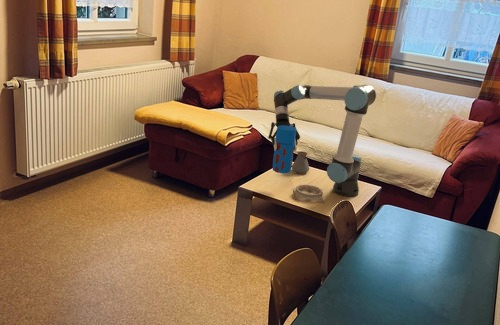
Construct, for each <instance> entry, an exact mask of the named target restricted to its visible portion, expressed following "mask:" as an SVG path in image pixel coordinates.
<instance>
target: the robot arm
mask: <svg viewBox="0 0 500 325" xmlns="http://www.w3.org/2000/svg"><path fill="white" fill-rule="evenodd" d="M376 97H377V93H376V90H375V88H374V87H373V86H371V85H370V84H369V85H368V84H362V85H353V86H352V87H351V86H349V87H348V86H327V85H326V86H324V85H321V86H319V85H318V86H317V85H315V86H314V85H308V84H307V85H306V84H305V85H300V84H297V85H295V86H293V87H292V88H289V89H288V90H286V91H285V90H277V91H275V92H274V93H273V103H274V113H275V122H274V121H272V122H271V124H270V129H269V135H268V136H267V138H268V139H270V140H271V145H273V149H274V150H273V152H274V151H276V149H277V145H276V131H277V129H276V131H275V132H274V129H275V127H278V126H281V125H285V126H292V127H294V128H296V136H295V145H294V152H296V151H297V149H298V148H297V147H298V144H299V143H298V141H300V139H301V135H300V133H299V131H298V129H297V127H296V123H295V122H293V123H291V122H290V117H289V107H288V106H289V105H291V104H293V103H294V102H297V101H301V100H307V99H308V100H326V101H327V100H328V101H344V104H345V107H344V110H345V112H346V114H345V119H344V122H343V126H342V130H341V134H340V139H339V143H338V146H337V150H336V153H335V154H333V156H332V159H331V163H330V164H329V165H328V166H327V168H326V174H327V177H328V178H329V180H330V181H332V182H333V185H332V191H333V193H335V194H338V195H341V196H343V197H344V196H345V197H356V196H358V195H359V192H360V188H359V187H360V186H359V181H358V180H359V175H360V170H361V164H362V157H361V156H360V155H357V154H355V153H354V151H355V148H356V142H357V140H358V135H359V131H360V128H361V124H362V119H363V117H364V116H365V115H367V113H368V109H369V106H371V105H373V103H374V102H375V101H376V99H377V98H376ZM273 132H274V133H273Z"/></svg>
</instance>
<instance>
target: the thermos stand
mask: <svg viewBox="0 0 500 325" xmlns="http://www.w3.org/2000/svg"><path fill="white" fill-rule="evenodd" d="M293 193H294V200H295V201H301V202H312V203H318V204H319V203H322V204H324V203H325V199H324V196H323V194H324V191H323V189H321V188H320V187H319V186H316V185H313V184H299V185H297V186H296V187H294V188H293Z"/></svg>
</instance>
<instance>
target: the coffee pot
mask: <svg viewBox="0 0 500 325" xmlns="http://www.w3.org/2000/svg"><path fill="white" fill-rule="evenodd" d="M296 154H297V156H296V158H295V160H294V161H293V162H292V168H291V170H293V172H294V173H296V174H299V175H303V174H306V173H308V172H309V170H310V166H309V162H308V161H309V159H310V158H309V157H308V156H307V155H308V152H305V151H297V152H296Z"/></svg>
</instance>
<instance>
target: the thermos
mask: <svg viewBox="0 0 500 325" xmlns="http://www.w3.org/2000/svg"><path fill="white" fill-rule="evenodd" d="M276 127H277V126H276ZM296 129H297V127H296V128H294V127H292V126H285V125H281V126H278V127H277V128H276V130H277V131H275V132H276V136H275V138H276V145H277V149H276V151H274V150H273V159H272V171H273V172H275V173H279V174H290V173H292V172H291V171H292V165H293V162H294V161H293V159H294V152H295V151H294V145H295V136H296Z"/></svg>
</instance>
